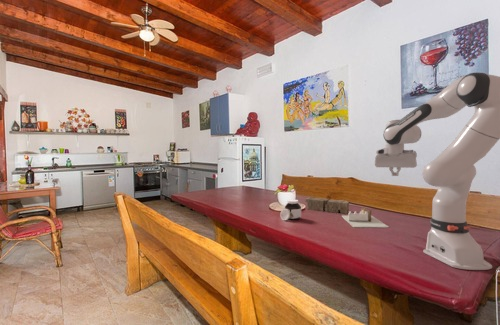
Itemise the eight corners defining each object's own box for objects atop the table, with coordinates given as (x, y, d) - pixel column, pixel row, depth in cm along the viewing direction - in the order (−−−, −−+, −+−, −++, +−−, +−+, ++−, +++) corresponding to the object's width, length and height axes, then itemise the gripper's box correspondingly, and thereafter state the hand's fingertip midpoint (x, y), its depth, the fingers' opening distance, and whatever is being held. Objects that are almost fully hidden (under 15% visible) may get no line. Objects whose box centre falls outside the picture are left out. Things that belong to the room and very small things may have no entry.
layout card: (388, 227, 144) (388, 226, 144) (353, 227, 146) (353, 226, 146) (371, 216, 168) (371, 215, 168) (341, 216, 170) (341, 215, 170)
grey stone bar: (349, 213, 181) (309, 207, 198) (350, 201, 181) (309, 196, 197) (346, 215, 175) (305, 209, 191) (347, 203, 174) (305, 197, 191)
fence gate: (348, 220, 156) (348, 211, 156) (348, 219, 158) (348, 211, 157) (368, 220, 155) (368, 212, 155) (367, 220, 156) (367, 211, 156)
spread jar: (302, 217, 167) (302, 199, 167) (297, 222, 157) (297, 203, 157) (284, 216, 172) (284, 198, 172) (278, 220, 162) (278, 201, 162)
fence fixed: (371, 222, 155) (371, 210, 155) (368, 222, 155) (369, 210, 155) (363, 216, 168) (363, 206, 167) (361, 216, 168) (361, 206, 168)
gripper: (418, 149, 137) (418, 176, 138) (377, 151, 152) (378, 174, 153) (414, 149, 133) (415, 177, 133) (373, 151, 148) (373, 175, 148)
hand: (395, 175), depth 143 cm, fingers closed
